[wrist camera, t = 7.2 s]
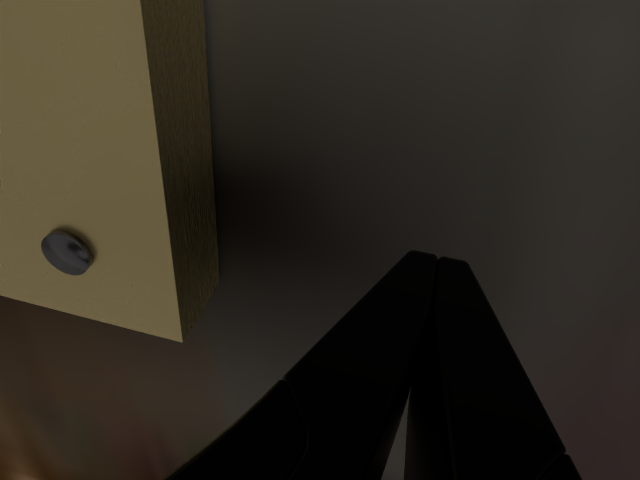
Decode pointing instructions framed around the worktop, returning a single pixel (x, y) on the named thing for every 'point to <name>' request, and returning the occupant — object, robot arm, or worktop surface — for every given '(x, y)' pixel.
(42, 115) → the olive box with knob
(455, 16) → the worktop surface
